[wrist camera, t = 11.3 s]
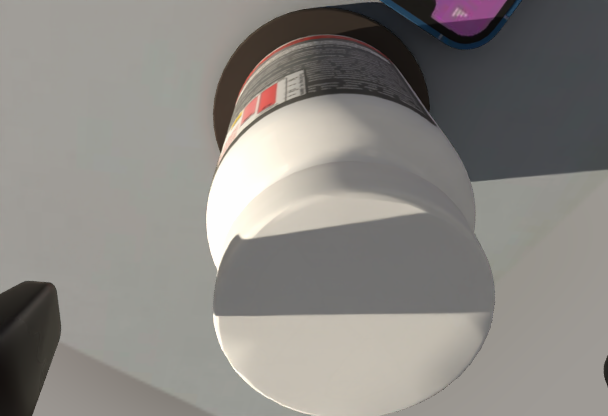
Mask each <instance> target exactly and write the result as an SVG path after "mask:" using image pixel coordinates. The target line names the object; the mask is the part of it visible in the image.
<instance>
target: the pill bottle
mask: <svg viewBox="0 0 608 416" xmlns="http://www.w3.org/2000/svg"><path fill="white" fill-rule="evenodd" d="M206 217H207V236H208V241H209V246H210V250H211V254H212V257H213V260H214V263H215V265H216V267H217V269H218V272H217V278H216V284H215V290H214V299H213V315H214V325H215V330H216V334H217V337H218V340H219V343H220V345H221V348H222V350H223V352H224V354H225V355H226V357H227V359H228V360H229V362H230V363H231V365H232V367H233V368H234V370H235V371H236V372H237V373H238V374H239V375H240V376H241V377H242V378H243V379H244V380H245V381H246V382H247V383H248V384H249V385H250V386H251V387H252V388H254V389H255V390H256V391H258V392H259V393H261V394H262V395H264V396H265V397H267V398H269V399H271V400H272V401H274V402H276V403H278V404H280V405H282V406H284V407H287V408H290V409H293V410H296V411H299V412H302V413H306V414H310V415H315V416H381V415H385V414H390V413H393V412H397V411H400V410H403V409H406V408H408V407H411V406H413V405H416V404H418V403H421V402H423V401H424V400H427V399H428V398H430V397H432V396H434V395H435V394H437V393H439V392H440V391H441V390H443V389H444V388H446V387H447V386H448V385H449V384H450V383H452V382H453V381H454V380H455V379H457V378H458V377H459V376H460V375H461V374H462V373H463V372H464V371H465V370H466V368H467V367H468V366H469V365H470V364H471V362H472V361H473V360H474V358H475V356H476V355H477V354H478V352H479V351H480V349H481V347H482V345H483V343H484V341H485V339H486V337H487V335H488V332H489V330H490V327H491V323H492V318H493V311H494V305H495V289H494V281H493V275H492V271H491V268H490V264H489V262H488V259H487V257H486V255H485V253H484V251H483V249H482V247H481V245H480V243H479V241H478V239H477V238H476V236H475V234H474V229H475V201H474V194H473V189H472V186H471V183H470V179H469V176H468V174H467V171H466V169H465V167H464V164H463V162H462V160H461V158H460V156H459V155H458V153H457V152H456V150H455V148H454V147H453V145H452V144H451V143H450V141H449V139H448V138H447V137H446V136H445V134H444V133H443V132H442V130H441V129H440V128H439V126H438V124H437V123H436V122H435V120H434V119H433V118H432V116H431V115H430V114H429V112H428V111H427V109H426V108H425V107H424V105H423V104H422V102H421V101H420V99H419V98H418V96H417V95H416V94H415V92H414V91H413V89H412V88H411V86H410V85H409V83H408V82H407V81H406V79H405V78H404V77H403V75H402V74H401V73H400V71H399V70H398V69H397V67H396V66H395V65H394V64H393V63H392V62H391V60H389V59H388V58H387V57H386V56H385V55H384V54H382V53H381V52H380V51H378V50H377V49H375V48H374V47H372V46H370V45H368V44H366V43H364V42H362V41H359V40H357V39H354V38H350V37H346V36H340V35H330V34H325V35H312V36H307V37H303V38H299V39H296V40H293V41H291V42H288V43H286V44H284V45H282V46H280V47H279V48H277V49H276V50H274V51H273V52H271V53H270V54H269V55H267V56H266V57H265V58H264V59H263V60H262V61H261V62H260V63H259V64H258V65H257V66H256V67H255V68H254V70H253V71H252V72H251V73H250V75H249V76H248V77H247V79H246V81H245V83H244V84H243V86H242V88H241V90H240V92H239V95H238V98H237V101H236V105H235V109H234V112H233V115H232V118H231V122H230V125H229V128H228V131H227V135H226V138H225V141H224V144H223V147H222V151H221V154H220V158H219V161H218V164H217V167H216V170H215V173H214V177H213V180H212V184H211V188H210V192H209V198H208V205H207V216H206Z"/></svg>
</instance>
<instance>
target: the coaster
mask: <svg viewBox="0 0 608 416" xmlns="http://www.w3.org/2000/svg"><path fill="white" fill-rule="evenodd" d="M325 34H330V35H340V36H346V37H350V38H354V39H357V40H359V41H362V42H364V43H366V44H368V45H370V46H372V47H374V48H375V49H377V50H378V51H380V52H381V53H382V54H384V55H385V56H386V57H387V58H388V59H389V60H391V62H392V63H393V64H394V65H395V66H396V67H397V69H398V70H399V71H400V73H401V74H402V75H403V77H404V78H405V79H406V81H407V82H408V83H409V85H410V86H411V88H412V89H413V91H414V92H415V94H416V95H417V96H418V98H419V99H420V101H421V102H422V104H423V105H424V107H425V108H426V109H427V111H428V112H429V114H430V105H429V97H428V90H427V87H426V83H425V79H424V77H423V74H422V72H421V70H420V67H419V65H418V64H417V62H416V60H415V59H414V57H413V55H412V54H411V52H410V51H409V50H408V49H407V47H406V46H405V45H404V44H403V43H402V41H401V40H400V39H398V38H397V37H396V36H395V35H394V34H393V33H392V32H391V31H390V30H388V29H387V28H385V27H384V26H382V25H381V24H380V23H378V22H376V21H374V20H372V19H370V18H368V17H366V16H364V15H361V14H358V13H355V12H352V11H348V10H342V9H337V8H310V9H303V10H299V11H295V12H290V13H288V14H285V15H282V16H280V17H277V18H275V19H273V20H271V21H270V22H268V23H266V24H264V25H263V26H261V27H260V28H259V29H257V30H256V31H255V32H253V33H252V34H251V35H250V36H249V37H248V38H247V39H246V40H245V41H244V42H243V43H242V44H241V45H240V46H239V47H238V48H237V50H236V51H235V52H234V54H233V55H232V56H231V58H230V60H229V62H228V63H227V65H226V67H225V69H224V71H223V73H222V75H221V78H220V81H219V83H218V86H217V90H216V95H215V99H214V109H213V120H214V130H215V136H216V141H217V144H218V147H219V150H220V153H221V151H222V147H223V144H224V141H225V138H226V135H227V131H228V128H229V125H230V122H231V118H232V115H233V112H234V109H235V105H236V101H237V98H238V95H239V92H240V90H241V88H242V86H243V84H244V83H245V81H246V79H247V77H248V76H249V75H250V73H251V72H252V71H253V70H254V68H255V67H256V66H257V65H258V64H259V63H260V62H261V61H262V60H263V59H264V58H265V57H266V56H267V55H269V54H270V53H271V52H273V51H274V50H276V49H277V48H279V47H280V46H282V45H284V44H286V43H288V42H291V41H293V40H296V39H299V38H303V37H307V36H312V35H325Z"/></svg>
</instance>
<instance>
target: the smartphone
mask: <svg viewBox="0 0 608 416" xmlns="http://www.w3.org/2000/svg"><path fill="white" fill-rule="evenodd" d="M380 1H382V2H383V3H385V4H386V5H388V6H389V7H391V8H392V9H394V10H395V11H397V12H398V13H400V14H401V15H403V16H404V17H406V18H407V19H408V20H410V21H411V22H413V23H414V24H416V25H417V26H419V27H420V28H422V29H423V30H425V31H426V32H428V33H429V34H431V35H432V36H434V37H435V38H437V39H439V40H440V41H442V42H443V43H445V44H446V45H448V46H450V47H453V48H456V49H461V50H468V49H474V48H477V47H480V46H482V45H484V44H486V43H487V42H489V41H490V40H491V39H492V38H493V37H495V35H496V34H497V33H498V32H499V31H500V30H501V28H502V27H503V26H504V24H505V23H506V22H507V20H508V19H509V18H510V16H511V15H512V13H513V12H514V11H515V9H516V8H517V7H518V5H519V4H520V2H521V1H522V0H380Z"/></svg>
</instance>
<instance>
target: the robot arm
mask: <svg viewBox="0 0 608 416" xmlns="http://www.w3.org/2000/svg"><path fill="white" fill-rule="evenodd" d="M60 334H61V321H60V313H59V305H58V297H57V290H56V288H55V286H54V285H53V284H52V283H50V282H37V281H25V282H22V283H20V284H18V285H16V286H14V287H13V288H11V289H9V290H7V291H5V292H3V293H1V294H0V416H32V414H33V412H34V409H35V406H36V403H37V400H38V398H39V395H40V392H41V389H42V387H43V384H44V381H45V378H46V375H47V373H48V370H49V367H50V364H51V362H52V359H53V356H54V353H55V351H56V348H57V345H58V342H59V339H60ZM604 377H605V380H606V383H607V386H608V356H607V359H606V361H605V364H604Z"/></svg>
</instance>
